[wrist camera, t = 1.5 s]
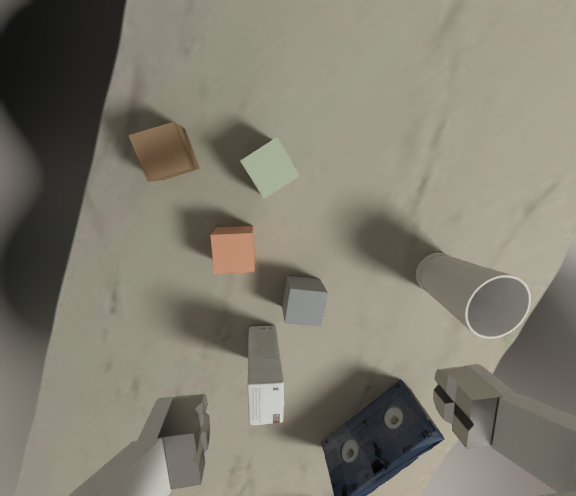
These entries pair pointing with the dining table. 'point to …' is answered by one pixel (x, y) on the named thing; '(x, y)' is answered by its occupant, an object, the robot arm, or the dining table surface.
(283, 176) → the sage cube
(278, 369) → the skincare box
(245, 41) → the dining table surface
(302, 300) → the slate cube
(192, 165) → the walnut cube
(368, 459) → the vhs cassette tape
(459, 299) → the cup
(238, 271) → the terracotta cube
